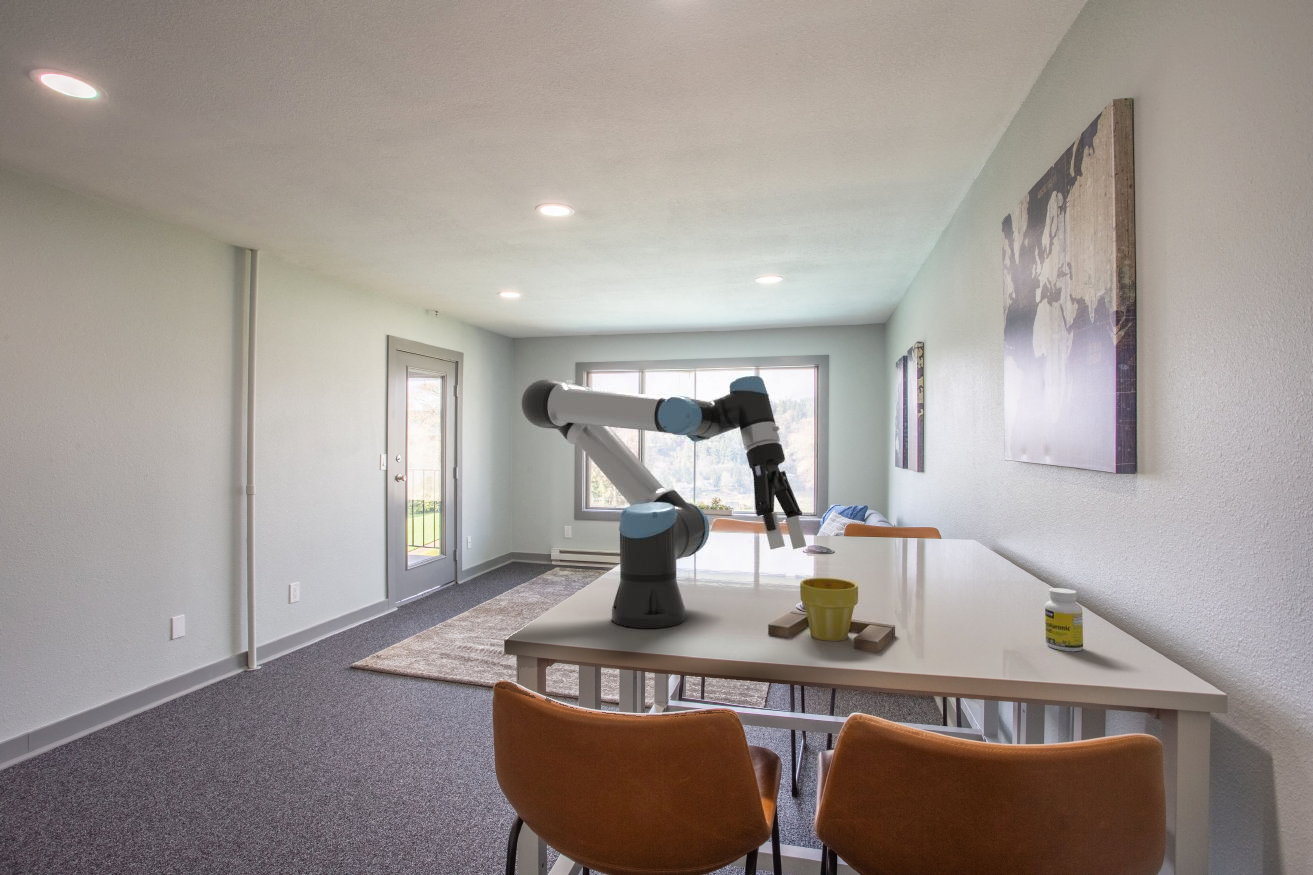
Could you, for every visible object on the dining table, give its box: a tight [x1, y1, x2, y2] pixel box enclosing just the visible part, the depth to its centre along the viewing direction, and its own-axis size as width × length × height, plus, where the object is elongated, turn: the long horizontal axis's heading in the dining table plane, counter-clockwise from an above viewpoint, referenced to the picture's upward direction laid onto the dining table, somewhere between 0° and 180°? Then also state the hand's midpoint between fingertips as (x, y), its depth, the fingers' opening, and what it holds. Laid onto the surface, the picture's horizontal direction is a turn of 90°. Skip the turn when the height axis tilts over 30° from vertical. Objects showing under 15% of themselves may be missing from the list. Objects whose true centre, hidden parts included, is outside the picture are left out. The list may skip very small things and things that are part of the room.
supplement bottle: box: [1044, 587, 1084, 653], centre depth 106 cm, size 5×5×10 cm
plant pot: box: [799, 577, 859, 642], centre depth 114 cm, size 10×10×10 cm
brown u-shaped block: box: [767, 610, 896, 653], centre depth 115 cm, size 20×12×2 cm, turn 56°
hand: (789, 547), depth 122 cm, fingers open, 13 cm apart
